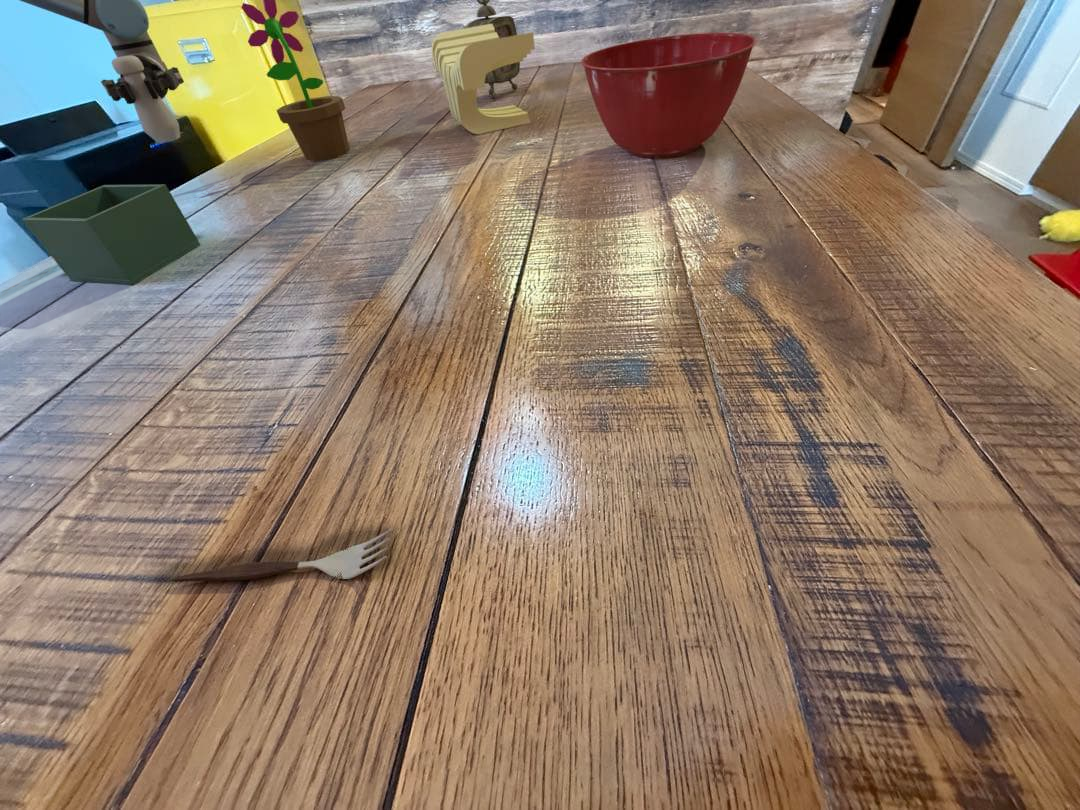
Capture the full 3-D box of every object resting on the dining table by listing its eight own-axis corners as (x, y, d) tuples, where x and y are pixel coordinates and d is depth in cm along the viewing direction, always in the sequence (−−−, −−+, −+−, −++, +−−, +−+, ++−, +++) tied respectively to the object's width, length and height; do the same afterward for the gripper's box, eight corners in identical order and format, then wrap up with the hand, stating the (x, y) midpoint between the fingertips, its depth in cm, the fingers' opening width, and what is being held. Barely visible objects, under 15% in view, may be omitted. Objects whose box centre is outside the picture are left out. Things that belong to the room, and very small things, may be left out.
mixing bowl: (574, 176, 89) (567, 72, 78) (596, 129, 109) (593, 41, 99) (746, 169, 82) (764, 54, 72) (736, 120, 102) (749, 26, 92)
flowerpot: (339, 141, 127) (286, -14, 107) (369, 148, 119) (317, -19, 99) (286, 158, 120) (218, -3, 100) (314, 167, 112) (246, -7, 92)
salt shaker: (172, 142, 93) (126, 57, 84) (144, 145, 93) (95, 61, 85) (191, 133, 97) (148, 51, 88) (164, 136, 98) (119, 55, 89)
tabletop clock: (496, 101, 140) (478, -15, 124) (470, 101, 144) (449, -12, 128) (523, 88, 149) (510, -22, 132) (498, 89, 153) (482, -19, 136)
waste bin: (71, 281, 79) (21, 219, 73) (142, 242, 88) (104, 184, 82) (132, 285, 75) (86, 220, 69) (200, 244, 85) (165, 184, 78)
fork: (184, 566, 37) (168, 551, 36) (400, 542, 36) (392, 525, 35) (167, 601, 35) (148, 586, 34) (395, 575, 34) (385, 559, 33)
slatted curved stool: (445, 119, 132) (427, 35, 120) (503, 106, 135) (492, 23, 123) (474, 145, 110) (455, 46, 98) (542, 130, 113) (533, 32, 101)
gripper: (198, 90, 107) (201, 106, 91) (113, 107, 102) (100, 127, 86) (177, 47, 102) (177, 56, 86) (86, 63, 97) (68, 75, 81)
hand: (138, 92), depth 86 cm, fingers closed on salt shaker, 3 cm apart
